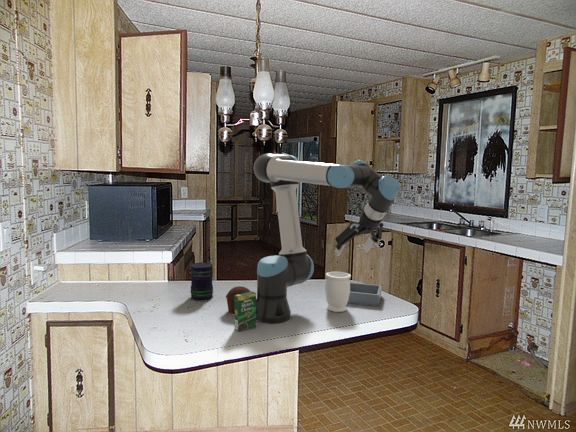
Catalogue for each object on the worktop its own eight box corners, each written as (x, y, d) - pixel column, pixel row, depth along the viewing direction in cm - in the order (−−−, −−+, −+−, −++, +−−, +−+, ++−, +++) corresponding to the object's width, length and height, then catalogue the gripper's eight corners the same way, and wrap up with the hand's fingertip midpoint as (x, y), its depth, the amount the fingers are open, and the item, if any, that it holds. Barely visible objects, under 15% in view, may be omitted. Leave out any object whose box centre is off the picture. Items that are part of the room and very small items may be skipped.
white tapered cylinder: (350, 313, 168) (352, 277, 166) (325, 312, 168) (326, 277, 166) (347, 305, 178) (349, 271, 176) (323, 304, 178) (325, 270, 177)
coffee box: (237, 332, 146) (237, 296, 144) (233, 329, 148) (233, 294, 146) (256, 327, 151) (257, 292, 149) (252, 325, 153) (252, 290, 151)
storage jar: (200, 302, 177) (200, 268, 175) (185, 297, 183) (185, 265, 181) (217, 297, 185) (217, 264, 183) (203, 292, 191) (203, 261, 189)
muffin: (223, 308, 171) (223, 284, 169) (248, 305, 175) (249, 282, 173) (229, 318, 160) (229, 293, 158) (256, 315, 164) (257, 290, 162)
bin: (341, 302, 182) (342, 291, 181) (347, 292, 197) (347, 282, 197) (378, 306, 177) (379, 295, 177) (381, 295, 193) (381, 285, 192)
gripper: (349, 224, 140) (328, 263, 154) (405, 219, 151) (381, 255, 165) (339, 208, 145) (320, 247, 159) (394, 204, 155) (372, 241, 170)
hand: (351, 251), depth 162 cm, fingers open, 13 cm apart
